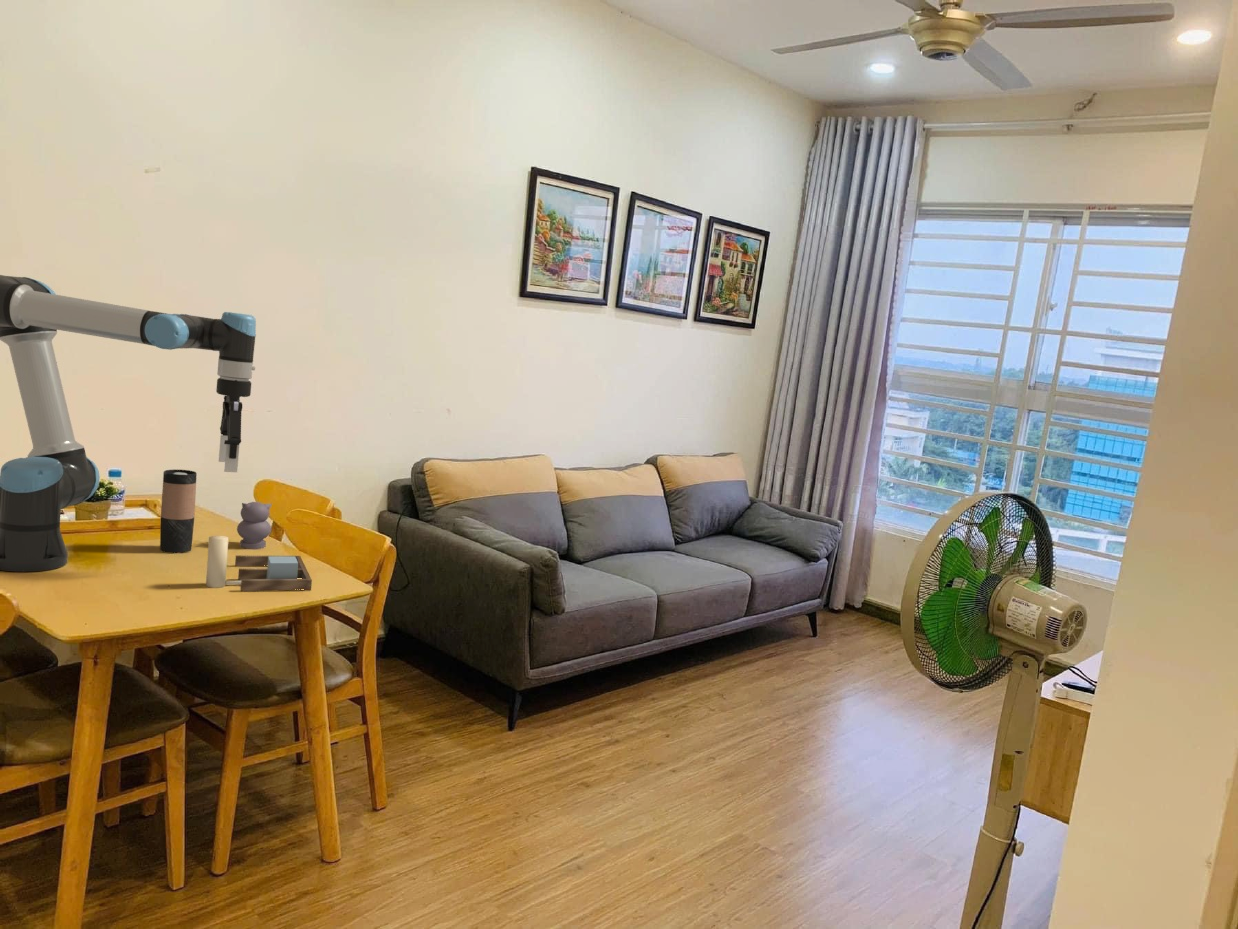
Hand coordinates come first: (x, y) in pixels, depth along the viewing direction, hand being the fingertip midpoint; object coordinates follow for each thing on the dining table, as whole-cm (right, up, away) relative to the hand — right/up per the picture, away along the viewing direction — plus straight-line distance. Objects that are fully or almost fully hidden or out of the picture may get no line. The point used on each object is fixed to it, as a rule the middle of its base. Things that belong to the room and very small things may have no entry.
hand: (227, 466), depth 218 cm
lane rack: (+11, -26, -2) cm, 29 cm away
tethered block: (+10, -27, -10) cm, 30 cm away
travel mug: (-18, -21, +12) cm, 30 cm away
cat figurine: (-4, -21, +24) cm, 33 cm away
